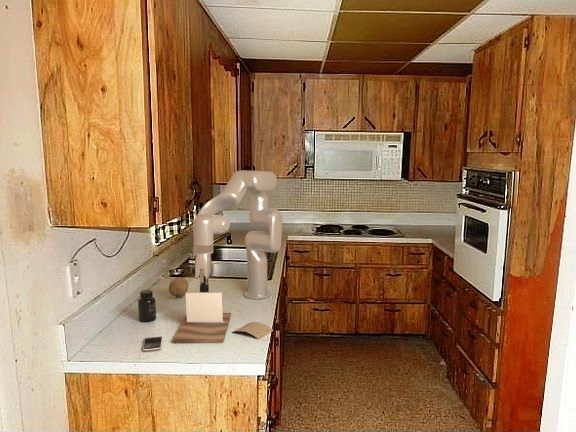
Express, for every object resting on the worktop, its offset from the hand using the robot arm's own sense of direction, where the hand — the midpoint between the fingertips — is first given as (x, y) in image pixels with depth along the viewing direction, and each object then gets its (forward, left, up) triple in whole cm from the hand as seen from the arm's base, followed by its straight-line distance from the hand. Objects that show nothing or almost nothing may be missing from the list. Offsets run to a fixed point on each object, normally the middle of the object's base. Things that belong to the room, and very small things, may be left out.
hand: (204, 294), depth 170 cm
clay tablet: (+6, +19, -14) cm, 24 cm away
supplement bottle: (-7, -25, -13) cm, 29 cm away
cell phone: (+17, -16, -14) cm, 27 cm away
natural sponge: (-33, -18, -13) cm, 39 cm away
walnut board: (+3, 0, -13) cm, 13 cm away
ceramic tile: (+1, 0, -5) cm, 5 cm away
